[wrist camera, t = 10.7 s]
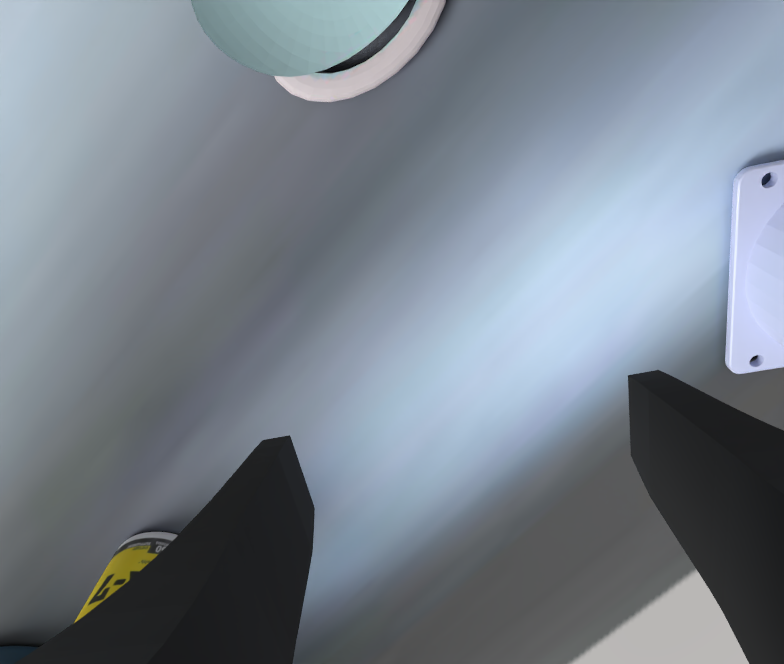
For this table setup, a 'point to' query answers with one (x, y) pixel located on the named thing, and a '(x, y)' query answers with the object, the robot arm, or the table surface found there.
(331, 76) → the pacifier
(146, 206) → the table surface
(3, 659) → the canister
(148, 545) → the supplement bottle
